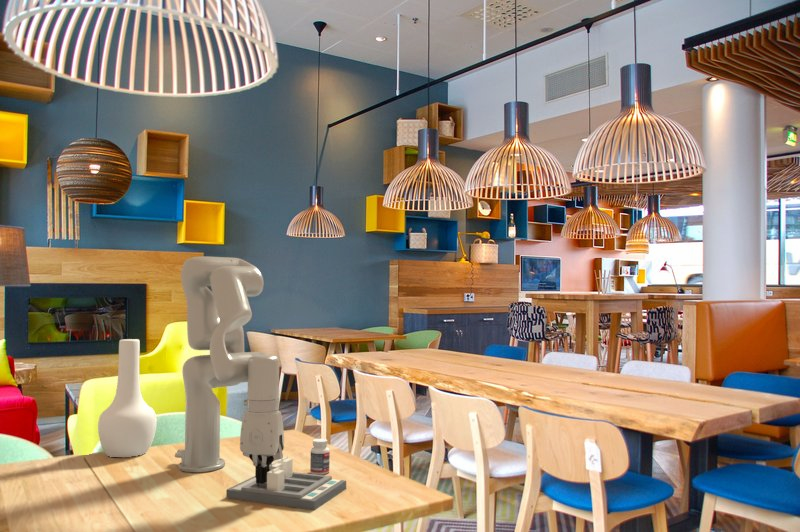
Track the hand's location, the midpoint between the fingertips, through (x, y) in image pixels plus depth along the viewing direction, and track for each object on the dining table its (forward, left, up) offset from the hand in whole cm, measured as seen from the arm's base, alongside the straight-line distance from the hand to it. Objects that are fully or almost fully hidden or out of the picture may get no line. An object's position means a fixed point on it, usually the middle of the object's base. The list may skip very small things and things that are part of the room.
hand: (262, 481), depth 154 cm
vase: (-62, +21, -4) cm, 65 cm away
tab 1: (0, +5, -2) cm, 5 cm away
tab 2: (+4, 0, -2) cm, 4 cm away
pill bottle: (+3, +24, -4) cm, 25 cm away
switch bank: (+4, +5, -4) cm, 8 cm away
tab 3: (0, +10, -2) cm, 10 cm away
